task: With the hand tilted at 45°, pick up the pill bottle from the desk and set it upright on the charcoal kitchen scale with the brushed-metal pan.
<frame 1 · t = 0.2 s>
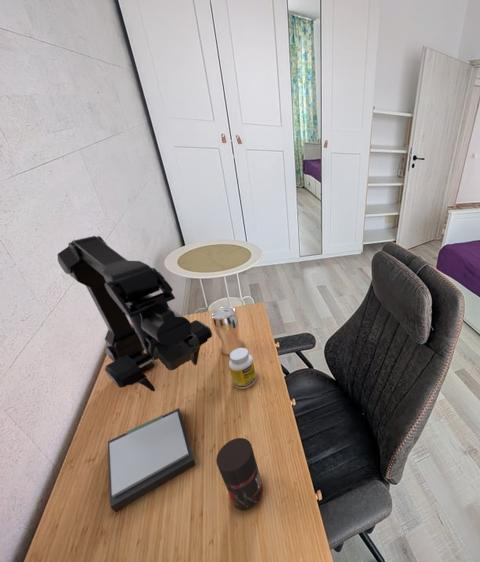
hand: (175, 376, 66), 15 cm above the table, tool pointing down, fingers open, 9 cm apart
deodorant: (248, 493, 59), on the table
beer glass: (232, 348, 94), on the table
kitchen scale: (152, 455, 64), on the table
pill bottle: (245, 381, 83), on the table
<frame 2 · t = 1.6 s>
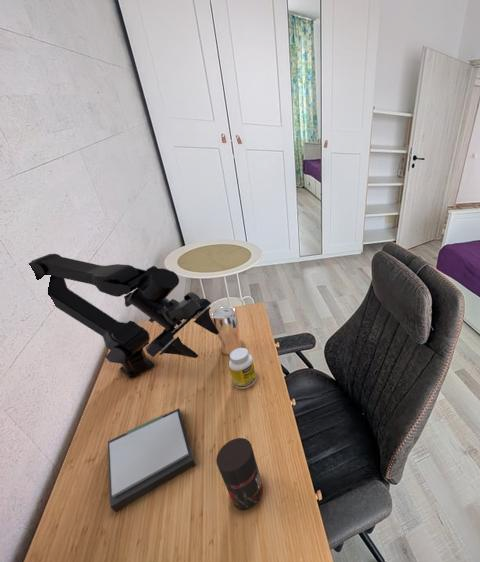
hand: (208, 344, 77), 13 cm above the table, tool tilted 45°, fingers open, 9 cm apart
nothing on the table moved.
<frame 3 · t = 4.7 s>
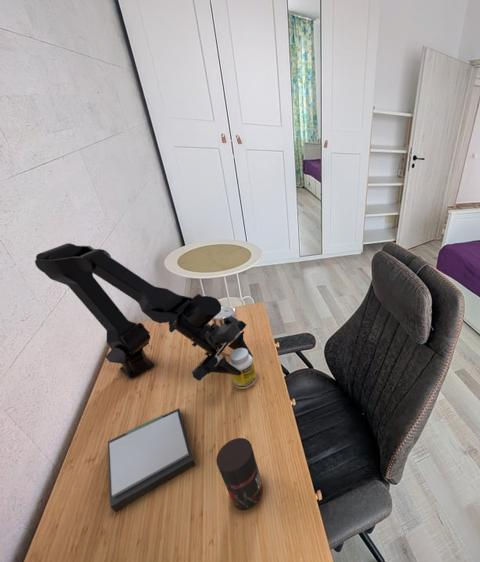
hand: (246, 365, 80), 7 cm above the table, tool tilted 45°, fingers closed on pill bottle, 6 cm apart
pill bottle: (245, 381, 83), on the table, touching gripper
everything else where it was.
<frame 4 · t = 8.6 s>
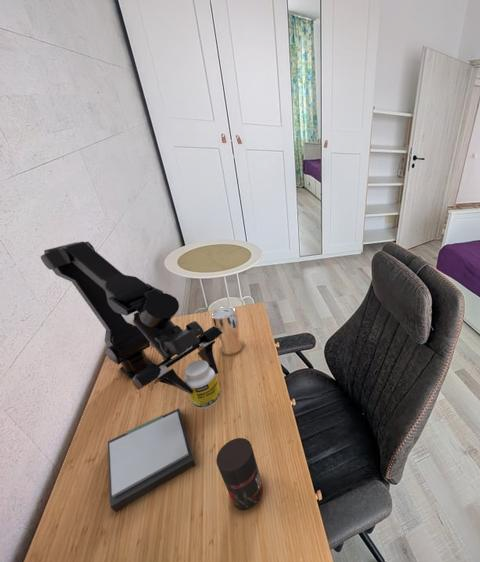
hand: (205, 383, 66), 13 cm above the table, tool tilted 45°, fingers closed on pill bottle, 6 cm apart
pill bottle: (207, 399, 70), point 6 cm above the table, touching gripper
everything else where it was.
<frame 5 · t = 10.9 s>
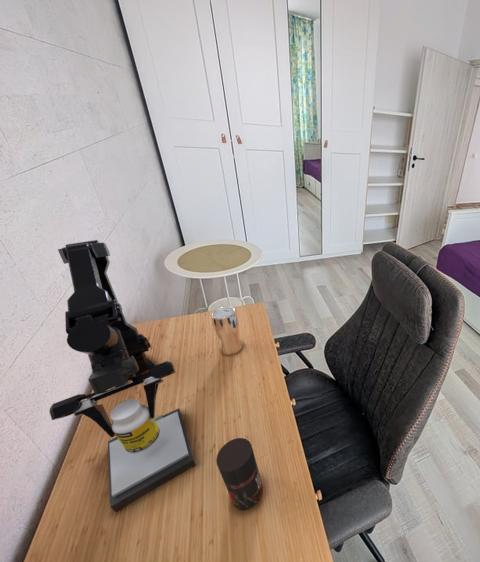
hand: (133, 427, 57), 12 cm above the table, tool tilted 45°, fingers closed on pill bottle, 6 cm apart
pill bottle: (144, 440, 62), point 6 cm above the table, touching gripper
everything else where it was.
when the fingers open (10 cm above the table, at t = 12.4 s): pill bottle stays where it is, resting on kitchen scale.
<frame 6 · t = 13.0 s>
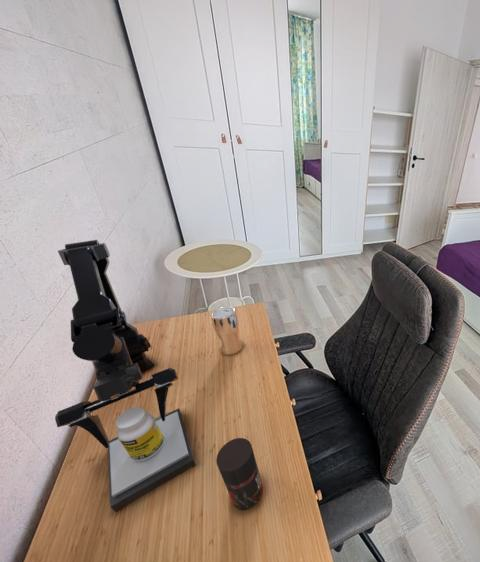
hand: (137, 433, 58), 10 cm above the table, tool tilted 45°, fingers open, 9 cm apart
pill bottle: (148, 448, 63), point 3 cm above the table, touching kitchen scale
everything else where it was.
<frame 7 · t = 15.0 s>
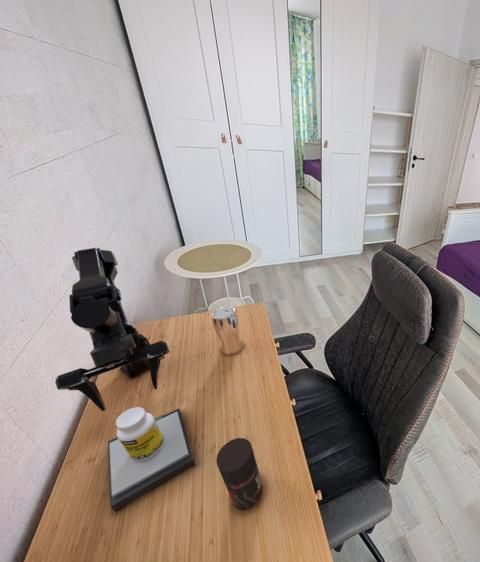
hand: (131, 399, 63), 12 cm above the table, tool tilted 45°, fingers open, 9 cm apart
nothing on the table moved.
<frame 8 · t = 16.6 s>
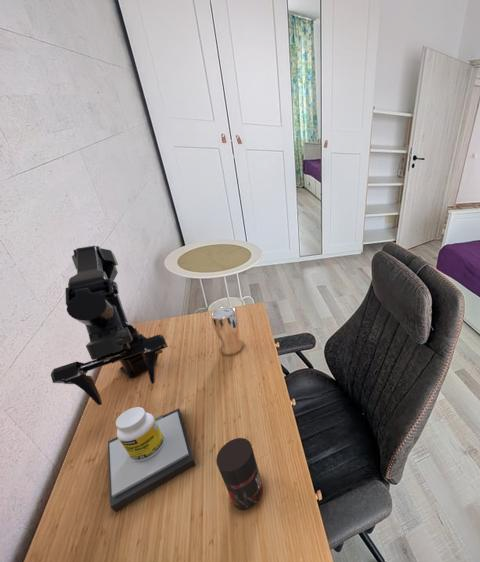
hand: (127, 393, 62), 14 cm above the table, tool tilted 45°, fingers open, 9 cm apart
nothing on the table moved.
at the end: pill bottle inside the target area on the kitchen scale (0.1 cm from its centre), point 2.8 cm above the kitchen scale's base; pill bottle tilted 0°; the gripper is holding nothing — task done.
